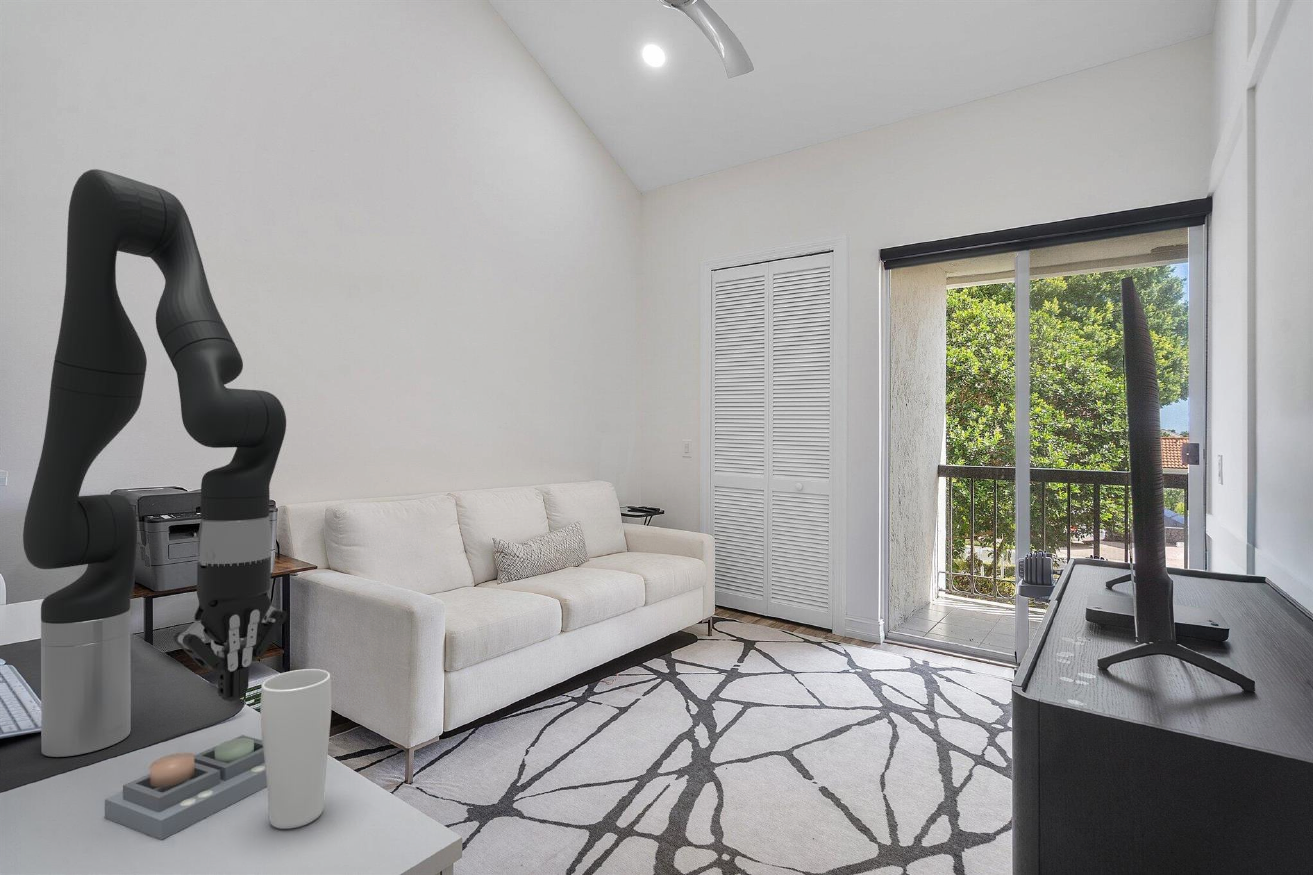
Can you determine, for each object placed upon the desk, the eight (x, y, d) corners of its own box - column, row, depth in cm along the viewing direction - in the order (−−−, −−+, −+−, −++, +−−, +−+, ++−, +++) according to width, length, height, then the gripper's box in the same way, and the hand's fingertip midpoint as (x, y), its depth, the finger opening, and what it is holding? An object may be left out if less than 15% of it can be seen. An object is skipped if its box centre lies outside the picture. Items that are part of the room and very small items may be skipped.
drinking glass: (302, 839, 69) (301, 693, 69) (245, 831, 70) (244, 688, 70) (345, 804, 76) (344, 670, 76) (292, 797, 77) (292, 666, 77)
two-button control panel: (104, 817, 73) (104, 785, 73) (239, 757, 87) (239, 730, 87) (161, 839, 69) (161, 805, 69) (293, 772, 83) (293, 744, 83)
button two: (141, 782, 74) (141, 765, 74) (180, 765, 77) (180, 750, 77) (164, 790, 72) (164, 773, 72) (202, 773, 76) (202, 756, 76)
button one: (206, 764, 80) (206, 749, 80) (239, 750, 84) (239, 735, 84) (228, 771, 78) (228, 755, 78) (261, 756, 82) (261, 741, 82)
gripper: (265, 544, 89) (263, 675, 89) (156, 561, 76) (154, 713, 77) (305, 549, 86) (303, 685, 86) (198, 568, 73) (196, 726, 74)
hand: (232, 698), depth 81 cm, fingers closed
